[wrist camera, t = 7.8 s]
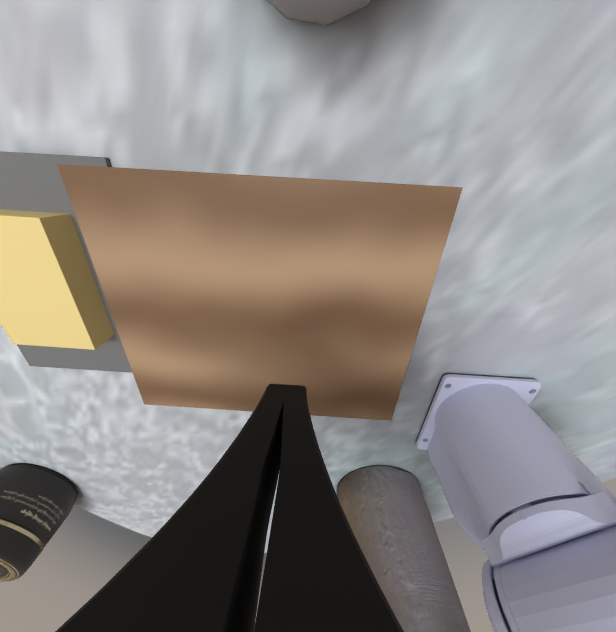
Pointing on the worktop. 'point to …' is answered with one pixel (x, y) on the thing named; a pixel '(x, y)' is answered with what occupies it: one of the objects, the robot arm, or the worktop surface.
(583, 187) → the worktop surface
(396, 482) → the pillar candle
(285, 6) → the cup
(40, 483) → the jar
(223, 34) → the worktop surface
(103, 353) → the mat
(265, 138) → the worktop surface
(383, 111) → the worktop surface
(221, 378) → the plate
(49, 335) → the yellow block
